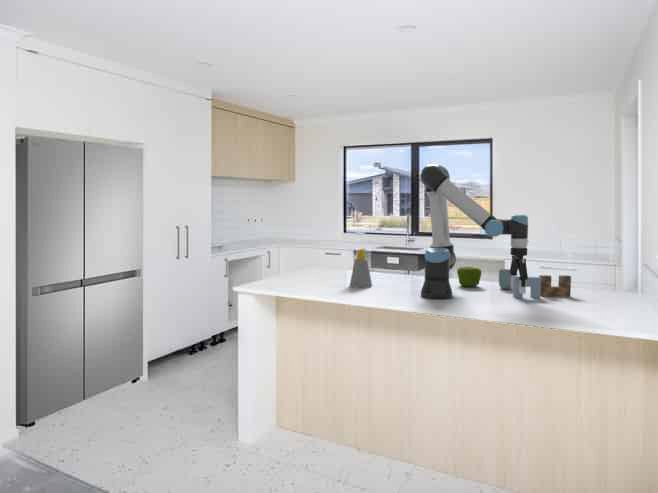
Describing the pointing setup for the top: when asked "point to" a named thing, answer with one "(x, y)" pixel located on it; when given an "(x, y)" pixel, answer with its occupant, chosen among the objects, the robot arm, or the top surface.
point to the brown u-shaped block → (558, 291)
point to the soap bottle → (361, 272)
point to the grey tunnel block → (530, 282)
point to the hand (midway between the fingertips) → (517, 291)
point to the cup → (505, 279)
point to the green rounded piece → (469, 276)
